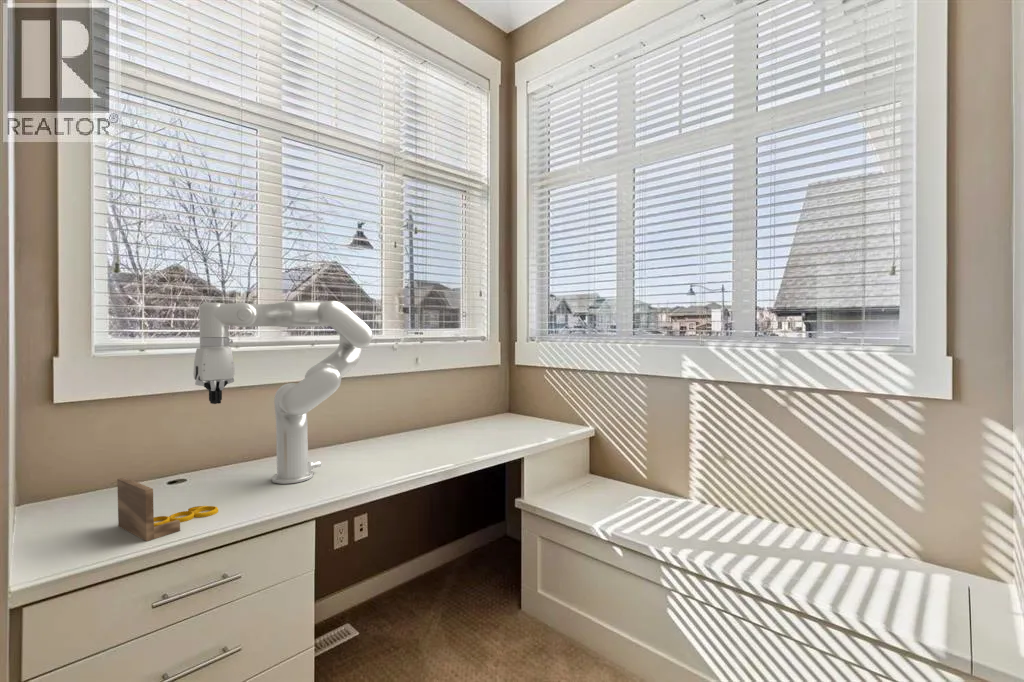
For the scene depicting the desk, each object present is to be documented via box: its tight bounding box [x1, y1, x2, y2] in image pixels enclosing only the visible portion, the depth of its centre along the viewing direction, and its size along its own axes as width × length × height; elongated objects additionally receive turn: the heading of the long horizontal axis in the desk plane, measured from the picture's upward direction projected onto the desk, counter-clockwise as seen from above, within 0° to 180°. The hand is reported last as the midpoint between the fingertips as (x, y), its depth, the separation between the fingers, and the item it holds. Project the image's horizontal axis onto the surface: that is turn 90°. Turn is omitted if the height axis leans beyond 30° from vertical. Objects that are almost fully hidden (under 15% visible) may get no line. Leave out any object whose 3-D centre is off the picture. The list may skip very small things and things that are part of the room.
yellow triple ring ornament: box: [154, 505, 219, 527], centre depth 127 cm, size 17×2×10 cm
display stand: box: [116, 477, 181, 542], centre depth 120 cm, size 7×16×12 cm, turn 57°
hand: (215, 403), depth 148 cm, fingers closed
